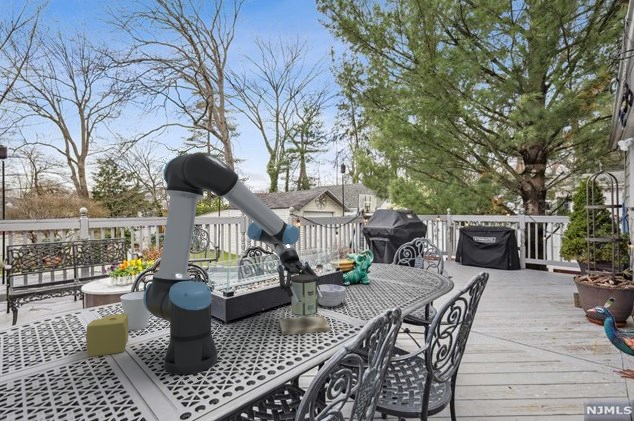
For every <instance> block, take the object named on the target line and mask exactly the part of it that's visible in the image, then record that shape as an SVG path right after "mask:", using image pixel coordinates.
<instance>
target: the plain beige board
mask: <svg viewBox="0 0 634 421" xmlns="http://www.w3.org/2000/svg"><path fill="white" fill-rule="evenodd" d="M278 324H279V327H280V330H281V331H280V332H281V335H282V336H285V335H286V334H288V335H297V334H298V335H299V333H300V334H312V333H323V332H331V331H332V330H331V328H332V327H331V326H330V324H329V323H328V321H327V320H326V318H325V317H324V316H323V315H318V316H316V315H315V316H312V317H291V318H290V317H288V318H279V319H278ZM286 336H287V335H286Z"/></svg>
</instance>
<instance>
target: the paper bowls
mask: <svg viewBox="0 0 634 421" xmlns="http://www.w3.org/2000/svg"><path fill="white" fill-rule="evenodd" d="M318 286H319V288H320V290H319V291H320V293H321V295H322V298H321V299H320V300H317V304H319V305H321V306H323V307H331V308H332V307H337V306H340V305H341V303H342V301H345V300H346V298H347V297H346V292H347V291H346V287H345V286H344V285H338V284H320V285H319V284H318Z"/></svg>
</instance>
